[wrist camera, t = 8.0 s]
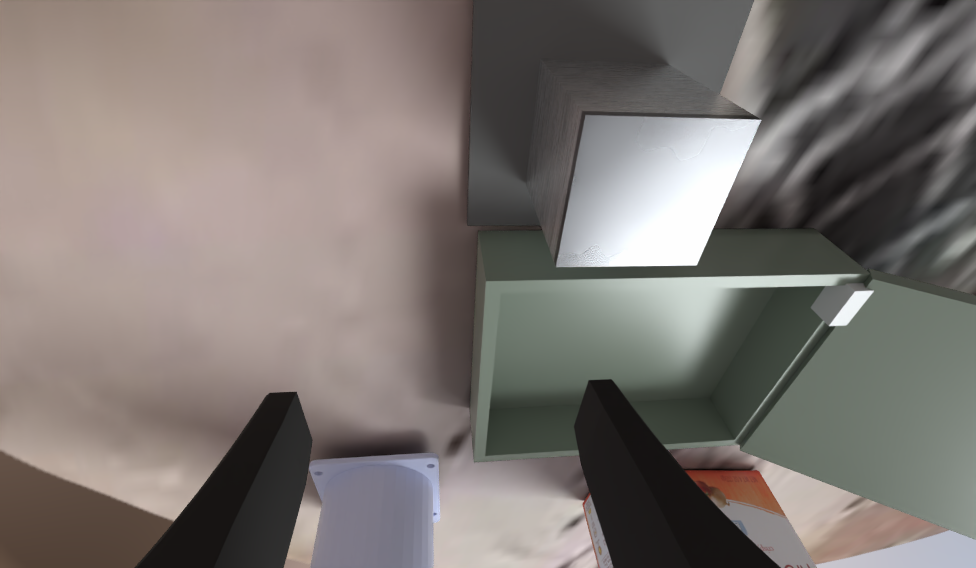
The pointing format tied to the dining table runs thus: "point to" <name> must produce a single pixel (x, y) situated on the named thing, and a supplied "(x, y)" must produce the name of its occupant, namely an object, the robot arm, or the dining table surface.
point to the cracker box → (732, 516)
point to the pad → (577, 37)
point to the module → (631, 162)
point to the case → (738, 362)
